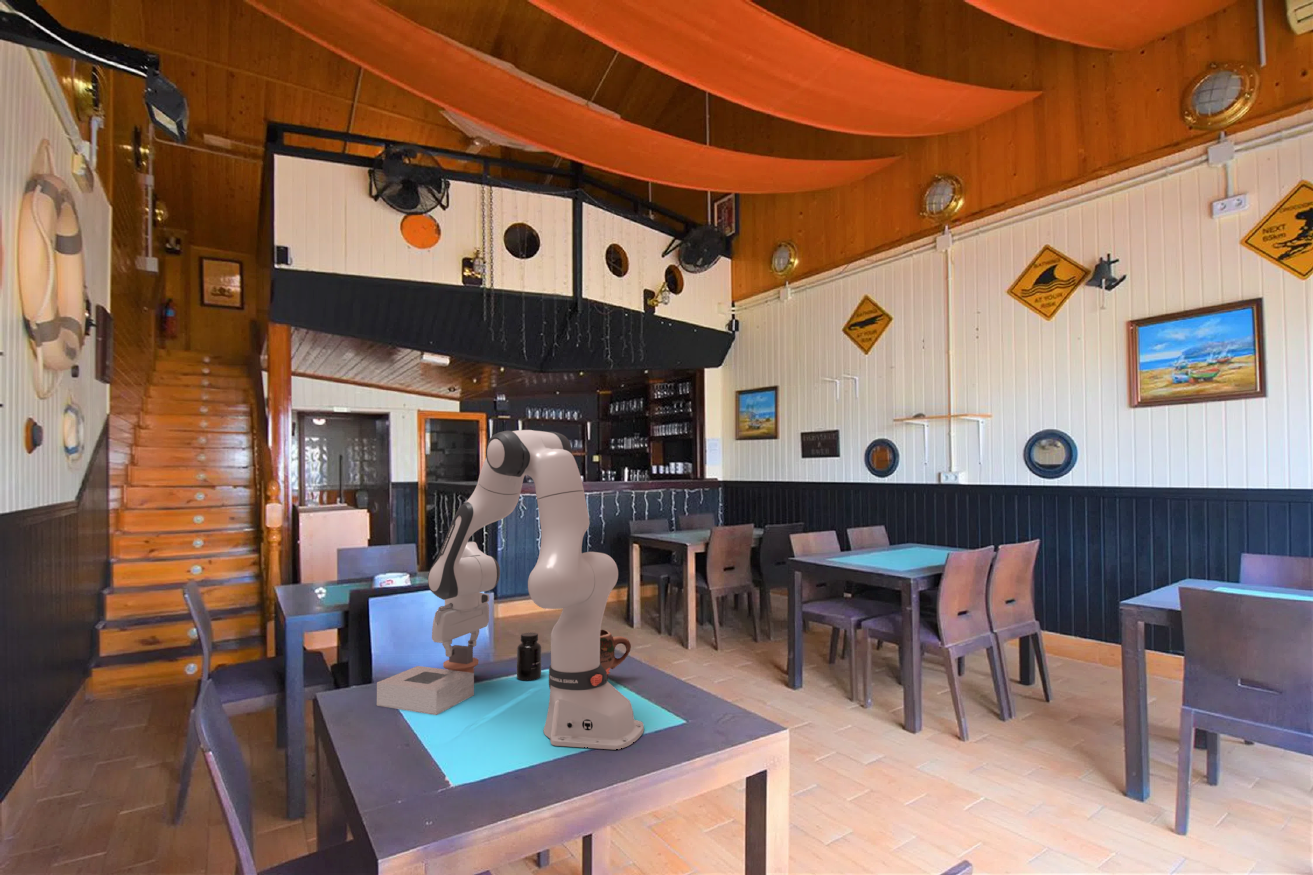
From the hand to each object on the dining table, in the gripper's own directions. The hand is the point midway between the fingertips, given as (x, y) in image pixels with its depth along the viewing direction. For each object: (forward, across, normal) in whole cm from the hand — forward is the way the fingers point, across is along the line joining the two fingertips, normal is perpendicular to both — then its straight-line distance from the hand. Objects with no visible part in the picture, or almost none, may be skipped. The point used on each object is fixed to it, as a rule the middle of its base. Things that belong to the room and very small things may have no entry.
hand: (461, 651), depth 175 cm
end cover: (+9, 0, 0) cm, 9 cm away
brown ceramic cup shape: (+9, +14, -34) cm, 38 cm away
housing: (+9, -16, -2) cm, 19 cm away
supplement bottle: (+9, +12, -14) cm, 21 cm away
